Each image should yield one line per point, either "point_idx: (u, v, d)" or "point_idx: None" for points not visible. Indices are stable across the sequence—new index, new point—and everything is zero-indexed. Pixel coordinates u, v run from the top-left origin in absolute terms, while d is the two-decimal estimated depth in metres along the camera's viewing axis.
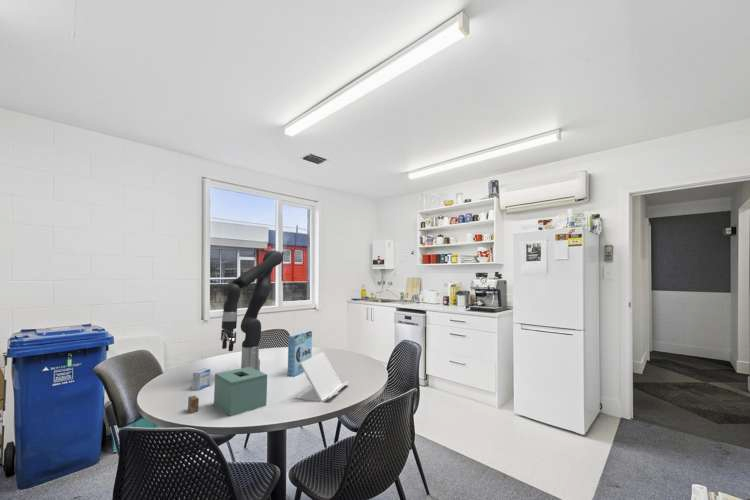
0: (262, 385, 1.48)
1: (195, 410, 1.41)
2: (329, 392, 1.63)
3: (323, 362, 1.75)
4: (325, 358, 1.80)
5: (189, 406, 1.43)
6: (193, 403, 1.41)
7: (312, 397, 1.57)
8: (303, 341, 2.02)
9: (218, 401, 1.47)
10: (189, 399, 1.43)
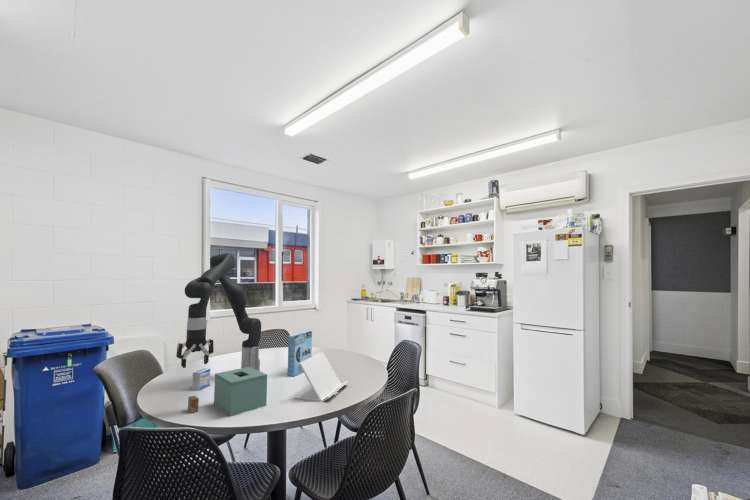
0: (262, 385, 1.48)
1: (195, 410, 1.41)
2: (328, 392, 1.63)
3: (322, 362, 1.75)
4: (324, 358, 1.80)
5: (189, 406, 1.43)
6: (193, 403, 1.41)
7: (311, 397, 1.58)
8: (303, 341, 2.02)
9: (218, 401, 1.47)
10: (189, 399, 1.43)
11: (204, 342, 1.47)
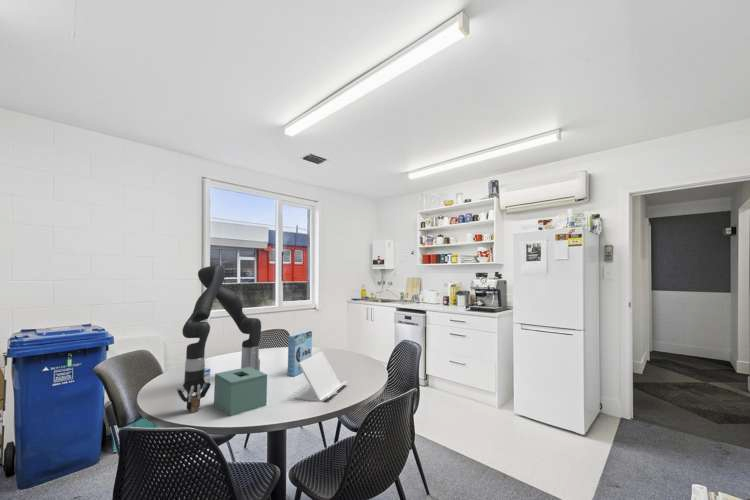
0: (262, 385, 1.48)
1: (195, 410, 1.41)
2: (327, 392, 1.63)
3: (322, 362, 1.76)
4: (324, 358, 1.80)
5: None
6: (193, 403, 1.41)
7: (310, 397, 1.58)
8: (303, 341, 2.02)
9: (218, 401, 1.47)
10: None
11: (202, 382, 1.45)
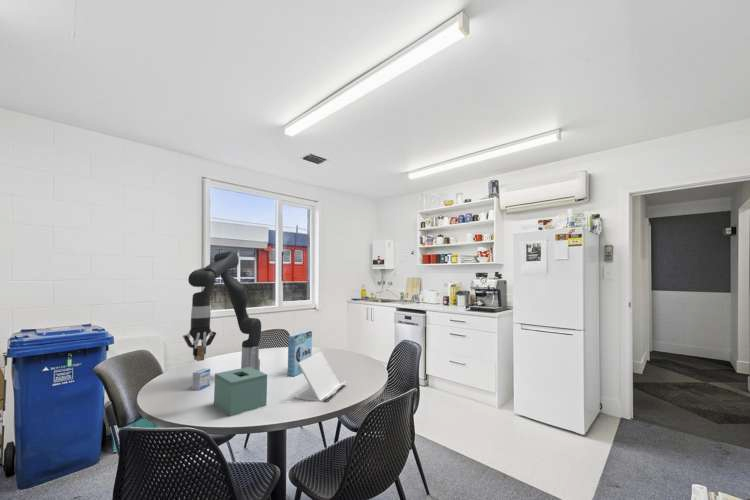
0: (262, 385, 1.48)
1: (201, 358, 1.44)
2: (327, 392, 1.63)
3: (321, 362, 1.76)
4: (323, 358, 1.80)
5: None
6: (199, 351, 1.43)
7: (310, 397, 1.58)
8: (303, 341, 2.02)
9: (218, 401, 1.47)
10: None
11: (208, 330, 1.48)
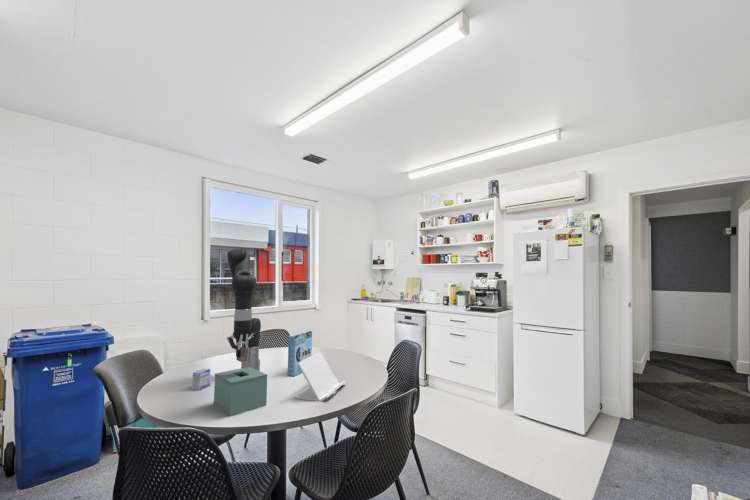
0: (262, 385, 1.48)
1: (244, 359, 1.50)
2: (326, 392, 1.63)
3: (320, 362, 1.76)
4: (322, 358, 1.80)
5: None
6: (242, 352, 1.49)
7: (309, 397, 1.58)
8: (303, 341, 2.02)
9: (218, 401, 1.47)
10: None
11: (250, 332, 1.54)
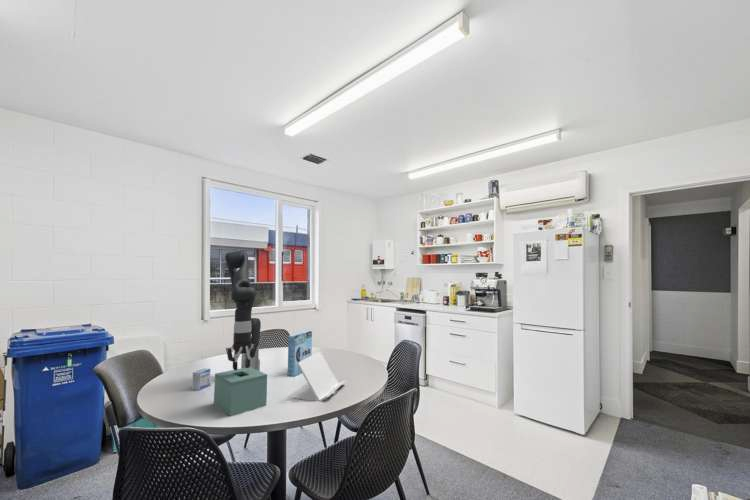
0: (262, 385, 1.48)
1: None
2: (326, 391, 1.64)
3: (320, 362, 1.76)
4: (322, 358, 1.80)
5: None
6: None
7: (309, 397, 1.58)
8: (303, 341, 2.02)
9: (218, 401, 1.47)
10: None
11: (249, 344, 1.53)
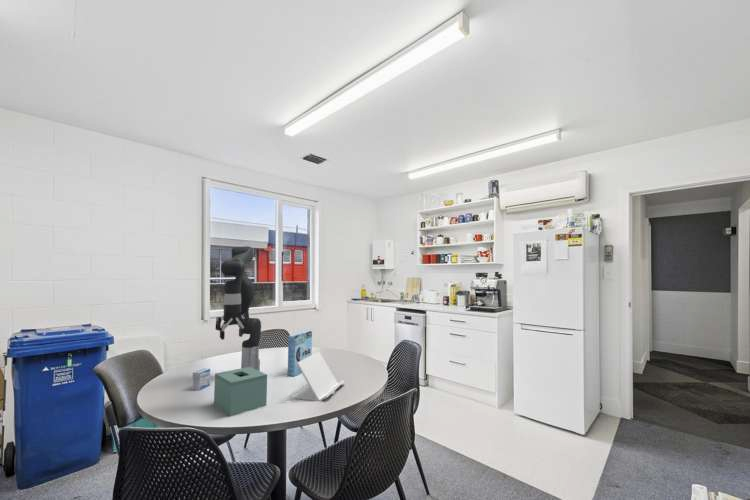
0: (262, 385, 1.48)
1: None
2: (326, 391, 1.64)
3: (319, 362, 1.76)
4: (321, 358, 1.80)
5: None
6: None
7: (309, 396, 1.58)
8: (303, 341, 2.02)
9: (218, 401, 1.47)
10: None
11: (239, 316, 1.58)
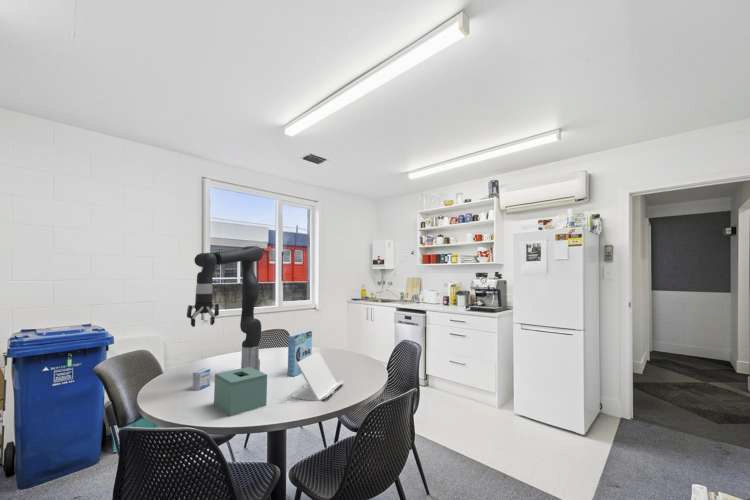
0: (262, 385, 1.48)
1: None
2: (325, 391, 1.64)
3: (318, 362, 1.76)
4: (320, 358, 1.80)
5: None
6: None
7: (308, 396, 1.58)
8: (303, 341, 2.02)
9: (218, 401, 1.47)
10: None
11: (211, 305, 1.67)
